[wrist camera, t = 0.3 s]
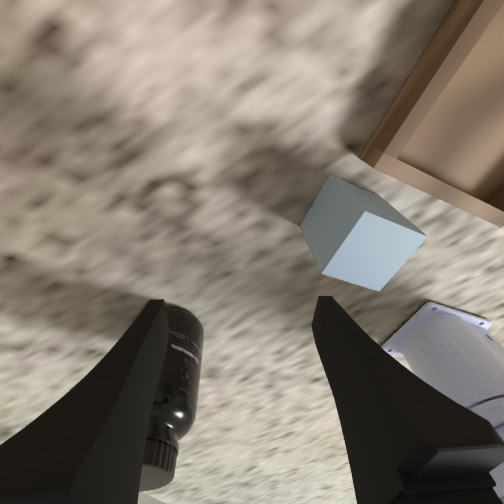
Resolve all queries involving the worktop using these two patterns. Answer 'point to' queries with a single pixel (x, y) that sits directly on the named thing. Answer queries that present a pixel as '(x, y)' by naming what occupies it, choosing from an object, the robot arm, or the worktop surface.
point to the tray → (452, 115)
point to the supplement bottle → (173, 399)
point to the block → (358, 235)
